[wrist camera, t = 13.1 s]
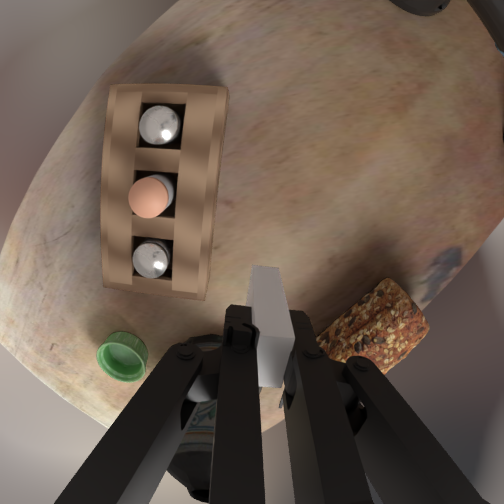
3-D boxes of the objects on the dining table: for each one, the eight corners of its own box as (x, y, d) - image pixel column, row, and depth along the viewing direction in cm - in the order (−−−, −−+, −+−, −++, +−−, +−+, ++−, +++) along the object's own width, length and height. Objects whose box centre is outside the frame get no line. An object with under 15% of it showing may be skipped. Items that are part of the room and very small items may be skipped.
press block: (129, 92, 36) (110, 84, 29) (229, 96, 37) (227, 87, 30) (120, 267, 44) (103, 287, 38) (209, 278, 45) (204, 300, 39)
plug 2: (147, 227, 41) (132, 242, 35) (177, 230, 41) (167, 246, 35) (146, 257, 42) (132, 275, 36) (176, 260, 43) (166, 280, 36)
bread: (385, 270, 46) (414, 299, 37) (413, 307, 49) (440, 338, 40) (301, 343, 50) (312, 383, 41) (336, 371, 53) (350, 409, 44)
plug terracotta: (146, 171, 36) (129, 176, 30) (179, 173, 37) (168, 179, 31) (144, 204, 38) (127, 216, 32) (177, 207, 38) (165, 220, 32)
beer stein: (229, 316, 48) (224, 450, 24) (285, 388, 54) (305, 503, 30) (150, 354, 50) (112, 472, 27) (212, 416, 56) (206, 523, 33)
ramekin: (157, 343, 49) (152, 359, 45) (142, 374, 52) (136, 390, 48) (111, 319, 48) (102, 333, 43) (100, 353, 50) (92, 367, 46)
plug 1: (156, 110, 35) (141, 105, 29) (189, 112, 36) (179, 106, 30) (152, 143, 37) (137, 143, 31) (185, 145, 37) (174, 145, 31)
